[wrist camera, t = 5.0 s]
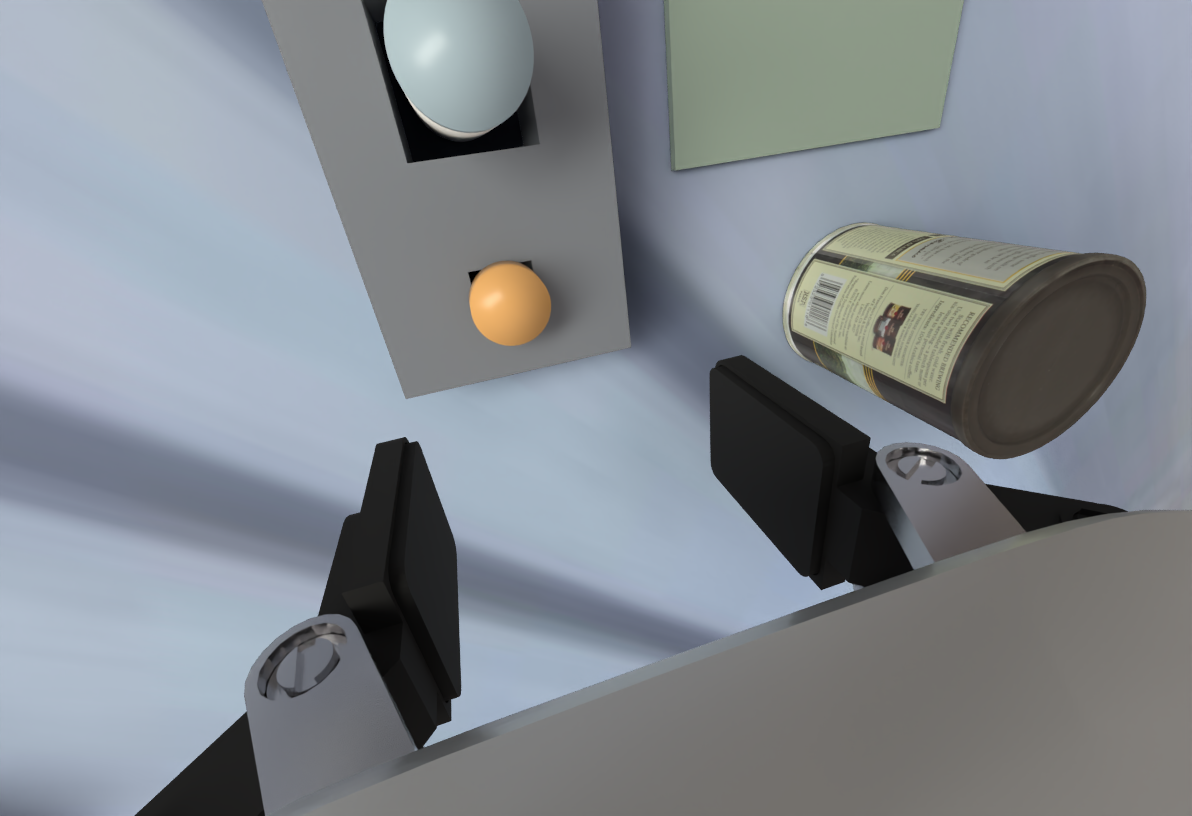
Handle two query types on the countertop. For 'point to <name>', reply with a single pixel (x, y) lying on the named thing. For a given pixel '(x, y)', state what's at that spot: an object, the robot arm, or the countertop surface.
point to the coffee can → (967, 329)
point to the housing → (467, 194)
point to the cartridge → (460, 61)
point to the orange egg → (509, 303)
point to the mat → (802, 73)
